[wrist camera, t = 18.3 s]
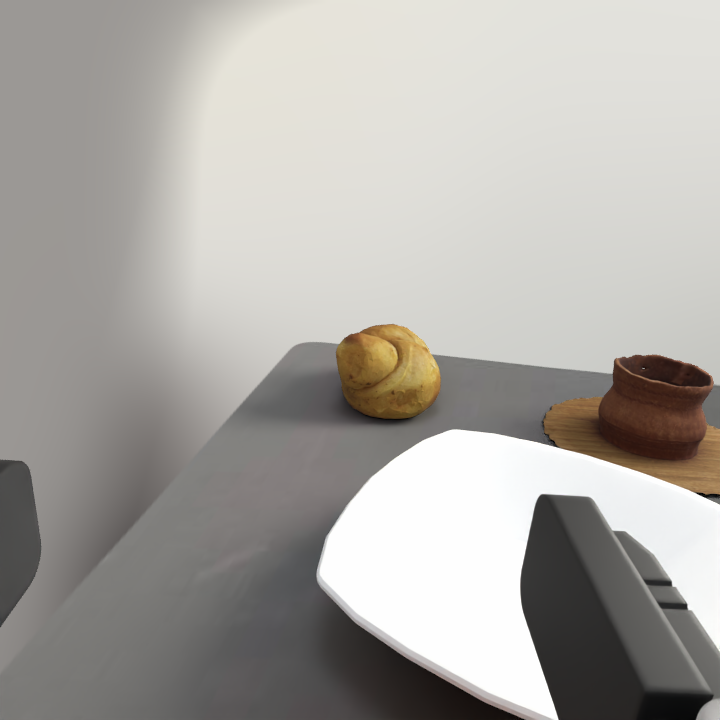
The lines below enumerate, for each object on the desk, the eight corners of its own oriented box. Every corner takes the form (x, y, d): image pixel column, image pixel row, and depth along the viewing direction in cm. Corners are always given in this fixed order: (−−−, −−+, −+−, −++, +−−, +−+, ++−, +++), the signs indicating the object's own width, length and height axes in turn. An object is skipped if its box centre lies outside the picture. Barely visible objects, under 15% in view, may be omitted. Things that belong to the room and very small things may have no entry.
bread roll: (346, 369, 66) (350, 298, 63) (435, 377, 65) (444, 306, 62) (329, 422, 54) (333, 337, 51) (438, 433, 53) (448, 348, 50)
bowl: (748, 577, 38) (774, 507, 36) (778, 962, 20) (833, 863, 18) (430, 471, 47) (437, 411, 45) (257, 669, 29) (257, 583, 27)
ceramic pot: (570, 383, 66) (582, 322, 63) (758, 432, 58) (781, 363, 55) (517, 449, 51) (531, 373, 49) (758, 527, 43) (790, 440, 41)
